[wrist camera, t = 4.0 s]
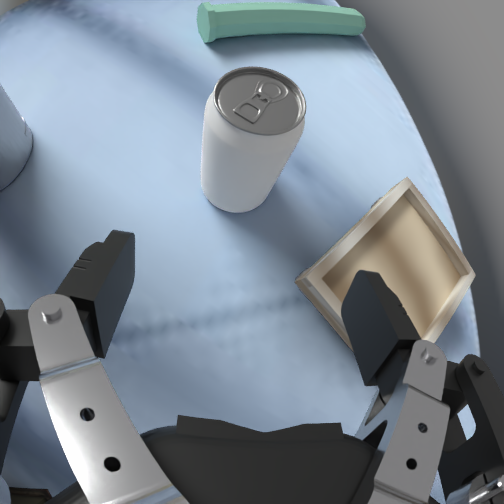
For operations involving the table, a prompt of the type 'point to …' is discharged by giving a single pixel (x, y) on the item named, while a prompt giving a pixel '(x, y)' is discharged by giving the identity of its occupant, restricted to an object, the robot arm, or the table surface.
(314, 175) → the table surface
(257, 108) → the can
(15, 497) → the diary
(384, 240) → the shallow wooden tray
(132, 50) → the table surface
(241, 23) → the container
